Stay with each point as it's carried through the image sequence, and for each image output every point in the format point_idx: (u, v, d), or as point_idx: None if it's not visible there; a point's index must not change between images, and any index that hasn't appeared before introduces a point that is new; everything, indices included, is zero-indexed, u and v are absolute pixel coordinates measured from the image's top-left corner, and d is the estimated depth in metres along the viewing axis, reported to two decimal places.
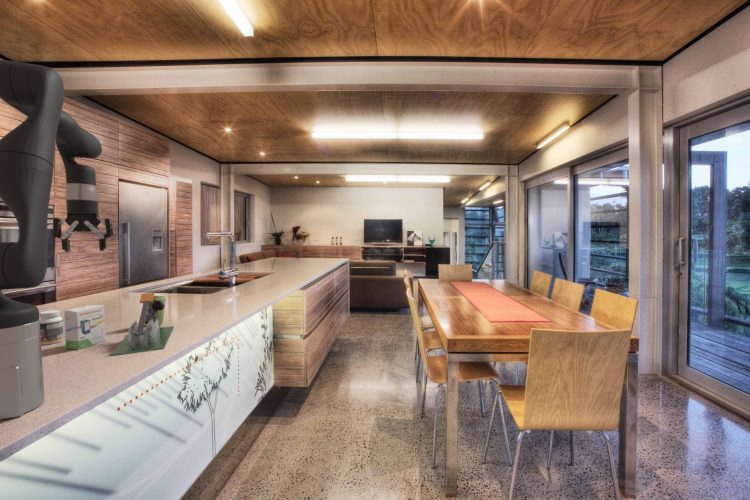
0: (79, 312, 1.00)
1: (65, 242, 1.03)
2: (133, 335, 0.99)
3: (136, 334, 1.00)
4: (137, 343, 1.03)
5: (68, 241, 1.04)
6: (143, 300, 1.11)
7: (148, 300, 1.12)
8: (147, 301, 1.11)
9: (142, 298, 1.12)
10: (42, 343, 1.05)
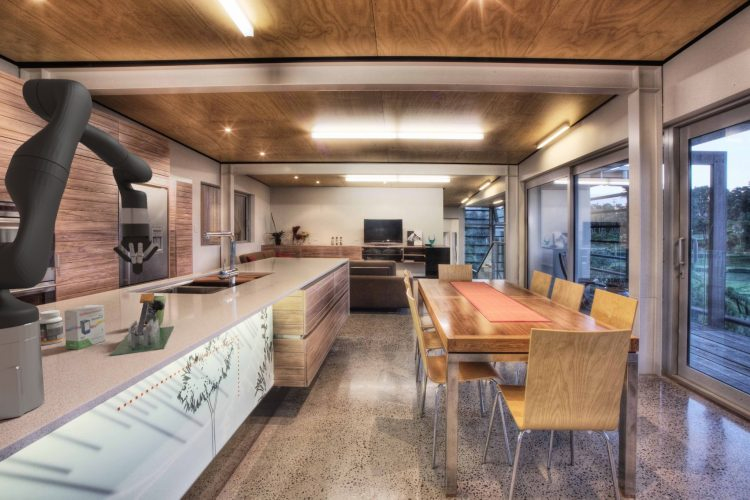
0: (79, 312, 1.00)
1: (135, 266, 1.11)
2: (133, 335, 0.99)
3: (136, 334, 1.00)
4: (137, 343, 1.03)
5: None
6: (143, 300, 1.11)
7: (148, 300, 1.12)
8: (147, 301, 1.11)
9: (142, 298, 1.12)
10: (42, 343, 1.05)
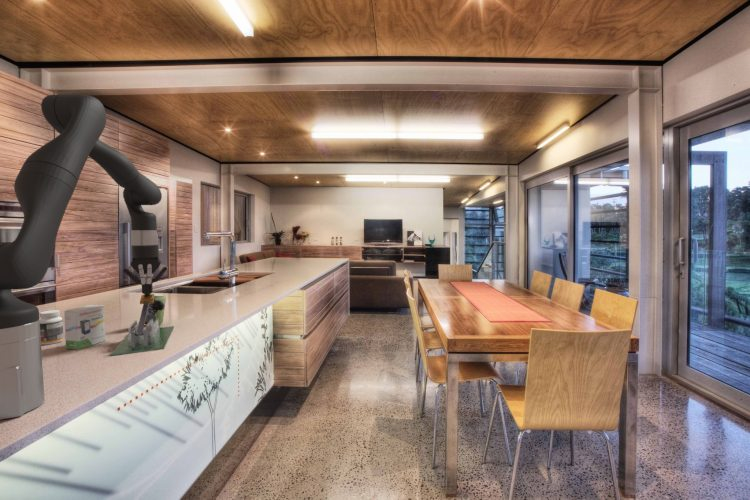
0: (79, 312, 1.00)
1: (145, 287, 1.13)
2: (133, 335, 0.99)
3: (136, 334, 1.00)
4: (137, 343, 1.03)
5: None
6: (143, 301, 1.11)
7: (148, 301, 1.12)
8: (147, 302, 1.12)
9: (142, 299, 1.12)
10: (42, 343, 1.05)
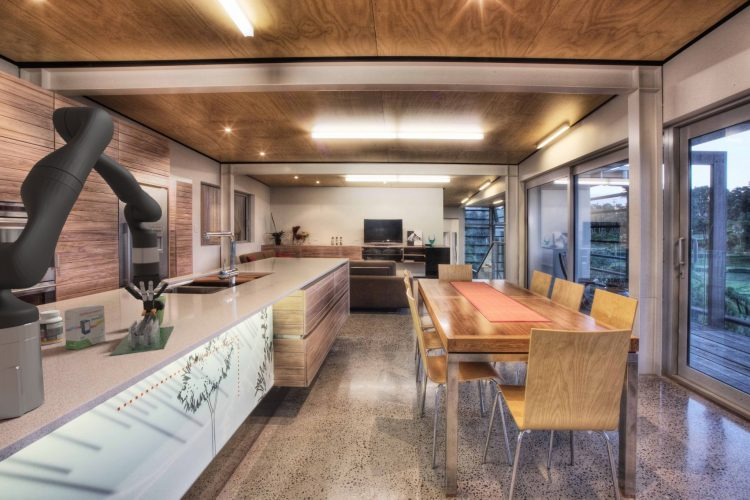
0: (79, 312, 1.00)
1: (146, 303, 1.14)
2: (133, 335, 0.99)
3: (136, 334, 1.00)
4: (137, 343, 1.03)
5: None
6: (145, 313, 1.13)
7: (150, 313, 1.14)
8: (149, 313, 1.13)
9: (144, 312, 1.14)
10: (42, 343, 1.05)
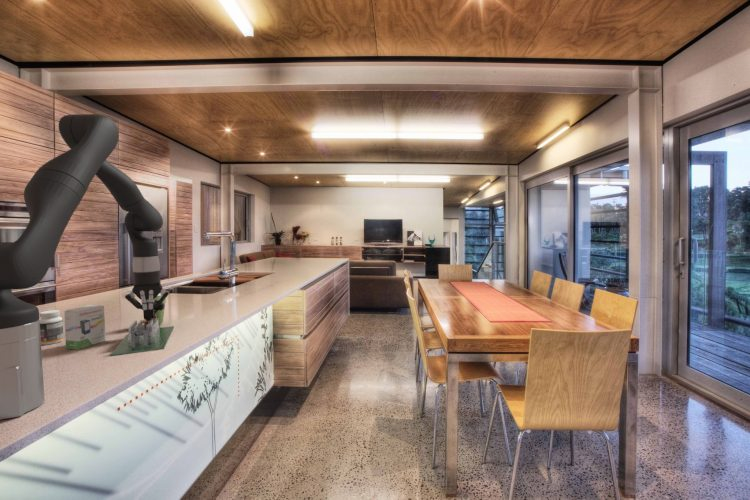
0: (79, 312, 1.00)
1: (146, 312, 1.13)
2: (133, 335, 0.99)
3: (136, 333, 1.00)
4: (137, 343, 1.03)
5: None
6: (145, 320, 1.14)
7: None
8: None
9: (144, 320, 1.15)
10: (42, 343, 1.05)
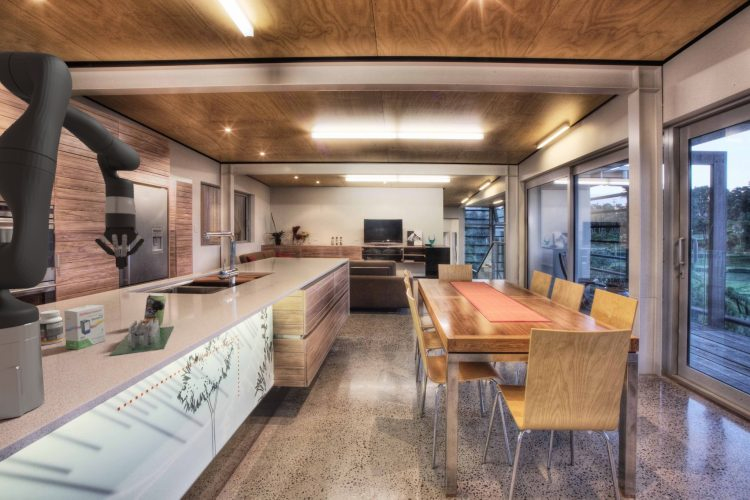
0: (79, 312, 1.00)
1: (119, 260, 1.02)
2: (133, 335, 0.99)
3: (136, 333, 1.00)
4: (137, 343, 1.03)
5: None
6: (145, 320, 1.14)
7: None
8: None
9: (144, 320, 1.15)
10: (42, 343, 1.05)
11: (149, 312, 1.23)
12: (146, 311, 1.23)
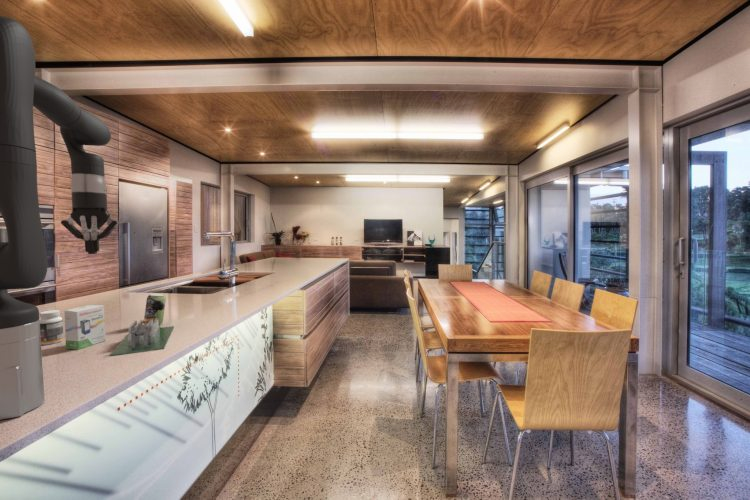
0: (79, 312, 1.00)
1: (88, 243, 0.93)
2: (133, 335, 0.99)
3: (136, 333, 1.00)
4: (137, 343, 1.03)
5: None
6: (145, 320, 1.14)
7: None
8: None
9: (144, 320, 1.15)
10: (42, 343, 1.05)
11: (149, 312, 1.23)
12: (146, 311, 1.23)
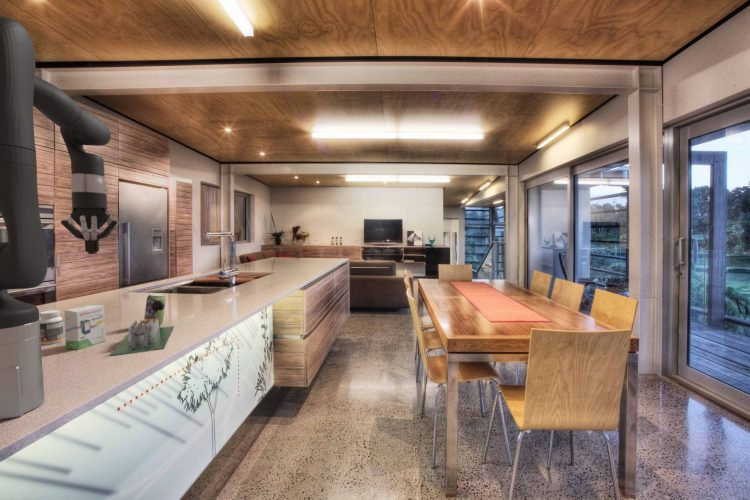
0: (79, 312, 1.00)
1: (88, 243, 0.93)
2: (133, 335, 0.99)
3: (136, 333, 1.00)
4: (137, 343, 1.03)
5: None
6: (145, 320, 1.14)
7: None
8: None
9: (144, 320, 1.15)
10: (42, 343, 1.05)
11: (149, 312, 1.23)
12: (146, 311, 1.23)
